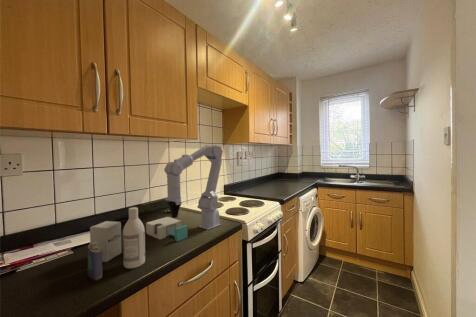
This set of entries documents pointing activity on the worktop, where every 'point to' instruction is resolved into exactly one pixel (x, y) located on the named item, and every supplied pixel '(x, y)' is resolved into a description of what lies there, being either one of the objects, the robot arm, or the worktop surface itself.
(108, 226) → the supplement box
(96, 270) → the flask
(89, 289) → the worktop surface
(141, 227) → the bath foam
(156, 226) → the plunger
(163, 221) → the housing
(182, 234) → the cartridge
